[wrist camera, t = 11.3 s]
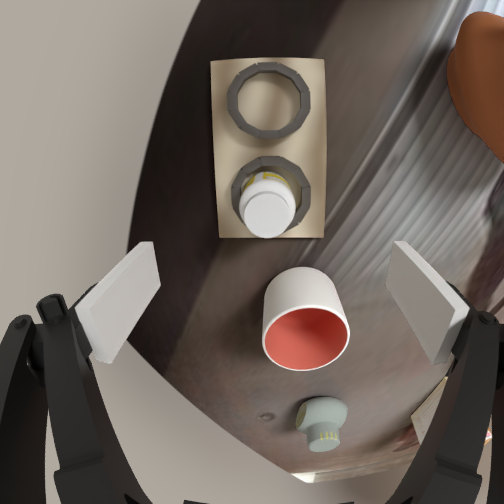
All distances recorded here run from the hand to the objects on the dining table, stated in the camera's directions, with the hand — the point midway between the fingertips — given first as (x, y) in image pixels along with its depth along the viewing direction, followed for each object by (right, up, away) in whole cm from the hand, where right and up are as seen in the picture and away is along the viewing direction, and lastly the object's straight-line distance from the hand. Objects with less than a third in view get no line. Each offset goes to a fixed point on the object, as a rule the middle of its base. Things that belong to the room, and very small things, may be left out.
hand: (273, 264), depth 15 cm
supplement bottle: (+1, +8, +18) cm, 20 cm away
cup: (+6, -5, +25) cm, 26 cm away
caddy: (+1, +13, +17) cm, 21 cm away
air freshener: (+12, -30, +35) cm, 48 cm away
